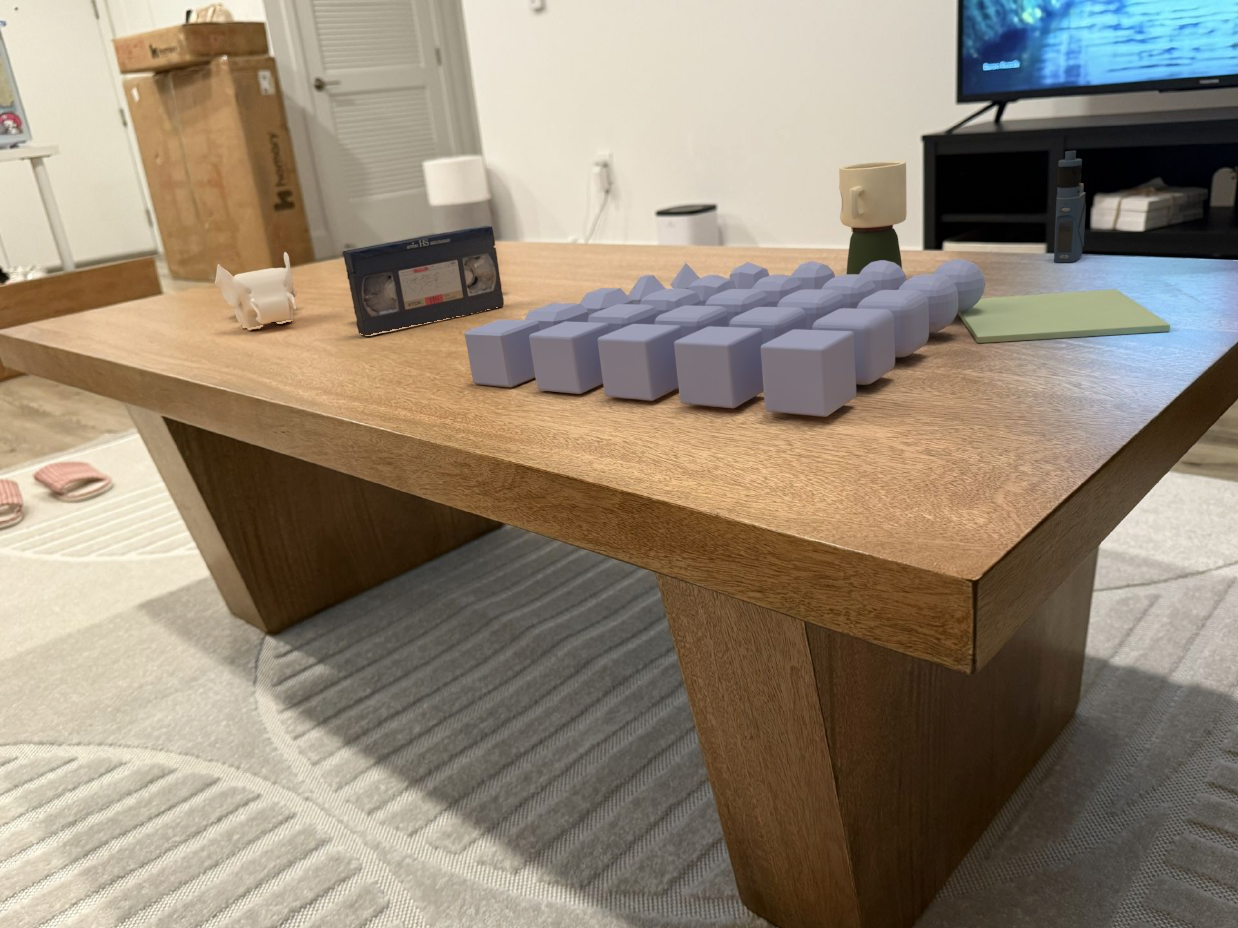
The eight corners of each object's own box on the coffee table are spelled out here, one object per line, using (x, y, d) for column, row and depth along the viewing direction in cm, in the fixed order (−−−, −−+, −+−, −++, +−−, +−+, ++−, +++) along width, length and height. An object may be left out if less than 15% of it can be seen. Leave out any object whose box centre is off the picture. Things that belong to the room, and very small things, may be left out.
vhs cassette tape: (365, 338, 114) (348, 252, 110) (357, 335, 116) (339, 250, 113) (507, 307, 123) (495, 226, 119) (496, 305, 125) (484, 225, 122)
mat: (1115, 295, 94) (1116, 288, 94) (1169, 331, 81) (1170, 324, 80) (952, 306, 97) (952, 300, 97) (977, 343, 84) (977, 336, 83)
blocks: (471, 384, 89) (462, 331, 87) (684, 301, 114) (679, 258, 112) (827, 418, 68) (823, 348, 66) (992, 306, 93) (992, 254, 91)
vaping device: (1050, 263, 112) (1055, 153, 108) (1061, 254, 116) (1066, 148, 112) (1075, 263, 111) (1080, 152, 106) (1085, 254, 114) (1091, 147, 110)
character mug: (865, 273, 118) (862, 161, 114) (923, 274, 114) (922, 157, 109) (824, 293, 110) (819, 172, 106) (884, 294, 106) (882, 169, 101)
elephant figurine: (244, 340, 121) (227, 268, 118) (221, 329, 130) (204, 261, 127) (320, 324, 125) (305, 254, 122) (292, 314, 135) (278, 249, 132)
